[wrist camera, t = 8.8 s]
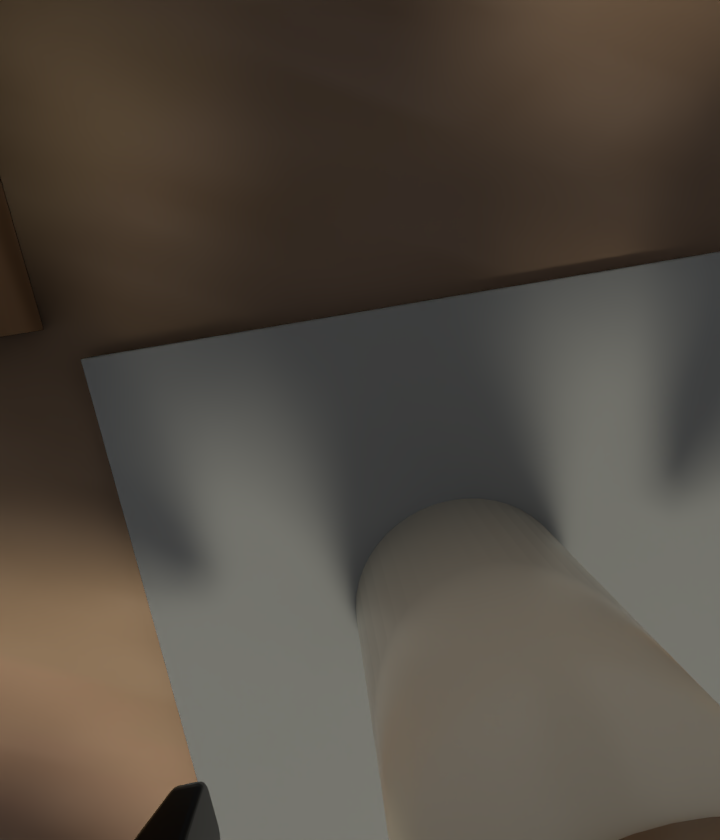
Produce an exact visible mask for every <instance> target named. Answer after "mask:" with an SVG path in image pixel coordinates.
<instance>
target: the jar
mask: <svg viewBox="0 0 720 840" xmlns="http://www.w3.org/2000/svg"><path fill="white" fill-rule="evenodd" d="M356 617H357V625H358V632H359V639H360V646H361V653H362V660H363V666H364V673H365V680H366V687H367V694H368V701H369V708H370V715H371V721H372V728H373V735H374V742H375V749H376V756H377V763H378V769H379V776H380V783H381V790H382V797H383V804H384V811H385V818H386V824H387V831H388V838H389V840H720V705H719V704H718V703H717V702H716V701H715V700H714V699H713V698H712V697H711V696H710V695H709V694H708V693H707V692H706V691H705V690H704V689H703V688H702V687H701V686H700V685H699V684H698V683H697V682H696V681H695V680H694V679H693V678H692V677H691V676H690V675H689V674H688V673H687V672H686V671H685V670H684V669H683V668H682V667H681V666H680V665H679V664H678V663H677V662H676V661H675V660H674V658H673V657H672V656H671V655H670V654H669V653H668V652H667V651H666V650H665V649H664V648H663V647H662V646H661V645H660V644H659V643H658V642H657V641H656V640H655V639H654V638H653V637H652V636H651V635H650V634H649V633H648V632H647V631H646V630H645V629H644V628H643V627H642V626H641V625H640V624H639V623H638V622H637V621H636V620H635V619H634V618H633V617H632V616H631V615H630V614H629V613H628V612H627V611H626V610H625V609H624V608H623V606H622V605H621V604H620V603H619V602H618V601H617V600H616V599H615V598H614V597H613V596H612V595H611V594H610V593H609V592H608V591H607V590H606V589H605V588H604V587H603V586H602V585H601V584H600V583H599V582H598V581H597V580H596V579H595V578H594V577H593V576H592V575H591V574H590V573H589V572H588V571H587V570H586V569H585V568H584V567H583V566H582V565H581V564H580V563H579V562H578V561H577V560H576V559H575V558H574V557H573V556H572V555H571V553H570V552H569V551H568V550H567V549H566V548H565V547H564V546H563V545H562V544H561V543H560V542H559V541H558V540H557V539H556V538H555V537H554V536H553V535H552V534H551V533H550V532H549V531H548V530H547V529H546V528H545V527H544V526H543V525H542V524H541V523H540V522H538V521H537V520H536V519H535V518H533V517H532V516H531V515H529V514H527V513H526V512H524V511H522V510H521V509H518V508H516V507H513V506H511V505H509V504H506V503H502V502H498V501H494V500H487V499H457V500H450V501H446V502H442V503H438V504H435V505H432V506H430V507H427V508H424V509H422V510H420V511H418V512H416V513H415V514H413V515H411V516H409V517H408V518H406V519H405V520H403V521H402V522H400V523H399V524H398V525H396V526H395V527H394V528H393V529H392V530H391V531H390V532H389V533H387V534H386V535H385V537H384V538H383V539H382V540H381V541H380V542H379V544H378V545H377V546H376V547H375V549H374V550H373V552H372V553H371V555H370V556H369V558H368V560H367V562H366V564H365V566H364V568H363V571H362V574H361V577H360V580H359V583H358V588H357V594H356Z"/></svg>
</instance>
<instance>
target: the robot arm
mask: <svg viewBox="0 0 720 840" xmlns="http://www.w3.org/2000/svg"><path fill="white" fill-rule="evenodd" d="M134 840H220V832H219V826H218V822H217V819H216V815H215V811H214V808H213V804H212V800H211V797H210V793H209V790H208V787H207V786H206V784H205V783H204V782H194V783H189V784H184V785H180V786H177V787H175V788H174V789H173V790H172V791H171V792H170V793H169V794H168V796H167V797H166V798H165V800H164V801H163V802H162V804H161V805H160V806H159V808H158V809H157V810H156V812H155V813H154V814H153V816H152V817H151V818H150V820H149V821H148V822H147V824H146V825H145V826H144V827H143V829H142V830H141V831H140V833H139V834H138V835H137V837H136V838H135V839H134Z"/></svg>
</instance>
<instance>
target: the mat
mask: <svg viewBox="0 0 720 840" xmlns="http://www.w3.org/2000/svg"><path fill="white" fill-rule="evenodd" d="M81 362H82V366H83V369H84V373H85V377H86V380H87V384H88V387H89V391H90V395H91V398H92V402H93V405H94V409H95V413H96V416H97V420H98V423H99V427H100V431H101V434H102V438H103V441H104V445H105V449H106V452H107V456H108V460H109V463H110V467H111V470H112V474H113V478H114V481H115V485H116V488H117V492H118V496H119V499H120V503H121V506H122V510H123V514H124V517H125V521H126V524H127V528H128V532H129V535H130V539H131V542H132V546H133V550H134V553H135V557H136V560H137V564H138V568H139V571H140V575H141V579H142V582H143V586H144V589H145V593H146V597H147V600H148V604H149V607H150V611H151V615H152V618H153V622H154V625H155V629H156V633H157V636H158V640H159V643H160V647H161V651H162V654H163V658H164V661H165V665H166V669H167V672H168V676H169V679H170V683H171V687H172V690H173V694H174V698H175V701H176V705H177V708H178V712H179V716H180V719H181V723H182V726H183V730H184V734H185V737H186V741H187V744H188V748H189V752H190V755H191V759H192V762H193V766H194V770H195V773H196V777H197V780H198V782H204V783H205V784H206V786H207V787H208V790H209V793H210V797H211V800H212V804H213V808H214V811H215V815H216V819H217V822H218V826H219V832H220V840H389V838H388V831H387V824H386V818H385V811H384V804H383V797H382V790H381V783H380V776H379V769H378V763H377V756H376V749H375V742H374V735H373V728H372V721H371V715H370V708H369V701H368V694H367V687H366V680H365V673H364V666H363V660H362V653H361V646H360V639H359V632H358V625H357V617H356V594H357V588H358V583H359V580H360V577H361V574H362V571H363V568H364V566H365V564H366V562H367V560H368V558H369V556H370V555H371V553H372V552H373V550H374V549H375V547H376V546H377V545H378V544H379V542H380V541H381V540H382V539H383V538H384V537H385V535H386V534H387V533H389V532H390V531H391V530H392V529H393V528H394V527H395V526H396V525H398V524H399V523H400V522H402V521H403V520H405V519H406V518H408V517H409V516H411V515H413V514H415V513H416V512H418V511H420V510H422V509H424V508H427V507H430V506H432V505H435V504H438V503H442V502H446V501H450V500H457V499H487V500H494V501H498V502H502V503H506V504H509V505H511V506H513V507H516V508H518V509H521V510H522V511H524V512H526V513H527V514H529V515H531V516H532V517H533V518H535V519H536V520H537V521H538V522H540V523H541V524H542V525H543V526H544V527H545V528H546V529H547V530H548V531H549V532H550V533H551V534H552V535H553V536H554V537H555V538H556V539H557V540H558V541H559V542H560V543H561V544H562V545H563V546H564V547H565V548H566V549H567V550H568V551H569V552H570V553H571V555H572V556H573V557H574V558H575V559H576V560H577V561H578V562H579V563H580V564H581V565H582V566H583V567H584V568H585V569H586V570H587V571H588V572H589V573H590V574H591V575H592V576H593V577H594V578H595V579H596V580H597V581H598V582H599V583H600V584H601V585H602V586H603V587H604V588H605V589H606V590H607V591H608V592H609V593H610V594H611V595H612V596H613V597H614V598H615V599H616V600H617V601H618V602H619V603H620V604H621V605H622V606H623V608H624V609H625V610H626V611H627V612H628V613H629V614H630V615H631V616H632V617H633V618H634V619H635V620H636V621H637V622H638V623H639V624H640V625H641V626H642V627H643V628H644V629H645V630H646V631H647V632H648V633H649V634H650V635H651V636H652V637H653V638H654V639H655V640H656V641H657V642H658V643H659V644H660V645H661V646H662V647H663V648H664V649H665V650H666V651H667V652H668V653H669V654H670V655H671V656H672V657H673V658H674V660H675V661H676V662H677V663H678V664H679V665H680V666H681V667H682V668H683V669H684V670H685V671H686V672H687V673H688V674H689V675H690V676H691V677H692V678H693V679H694V680H695V681H696V682H697V683H698V684H699V685H700V686H701V687H702V688H703V689H704V690H705V691H706V692H707V693H708V694H709V695H710V696H711V697H712V698H713V699H714V700H715V701H716V702H717V703H718V704H719V705H720V251H719V252H713V253H708V254H702V255H696V256H690V257H684V258H678V259H672V260H666V261H660V262H654V263H648V264H642V265H636V266H630V267H624V268H618V269H612V270H606V271H600V272H594V273H588V274H582V275H576V276H570V277H564V278H558V279H553V280H547V281H541V282H535V283H529V284H523V285H517V286H511V287H505V288H499V289H493V290H487V291H481V292H475V293H469V294H463V295H457V296H451V297H445V298H439V299H433V300H427V301H421V302H415V303H409V304H403V305H398V306H392V307H386V308H380V309H374V310H368V311H362V312H356V313H350V314H344V315H338V316H332V317H326V318H320V319H314V320H308V321H302V322H296V323H290V324H284V325H278V326H272V327H266V328H260V329H254V330H248V331H243V332H237V333H231V334H225V335H219V336H213V337H207V338H201V339H195V340H189V341H183V342H177V343H171V344H165V345H159V346H153V347H147V348H141V349H135V350H129V351H123V352H117V353H111V354H105V355H99V356H93V357H88V358H84V359H81Z"/></svg>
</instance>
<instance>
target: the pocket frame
mask: <svg viewBox="0 0 720 840" xmlns="http://www.w3.org/2000/svg"><path fill="white" fill-rule="evenodd" d="M38 330H44V329H43V326H42V323H41V319H40V316H39V312H38V309H37V305H36V302H35V298H34V295H33V291H32V288H31V285H30V281H29V278H28V274H27V271H26V267H25V264H24V260H23V257H22V253H21V250H20V247H19V243H18V240H17V236H16V233H15V229H14V226H13V222H12V219H11V215H10V212H9V208H8V205H7V202H6V198H5V195H4V191H3V188H2V184H1V181H0V337H2V336H8V335H14V334H20V333H26V332H32V331H38Z"/></svg>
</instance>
